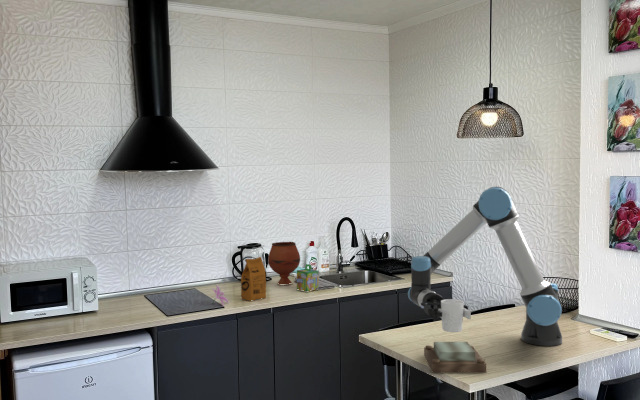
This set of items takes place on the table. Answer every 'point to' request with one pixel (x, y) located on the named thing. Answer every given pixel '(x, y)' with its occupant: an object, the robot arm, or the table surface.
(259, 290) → the coffee package
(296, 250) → the goblet
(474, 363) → the plinth
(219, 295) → the lily
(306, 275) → the colorful lantern
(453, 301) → the white cup
